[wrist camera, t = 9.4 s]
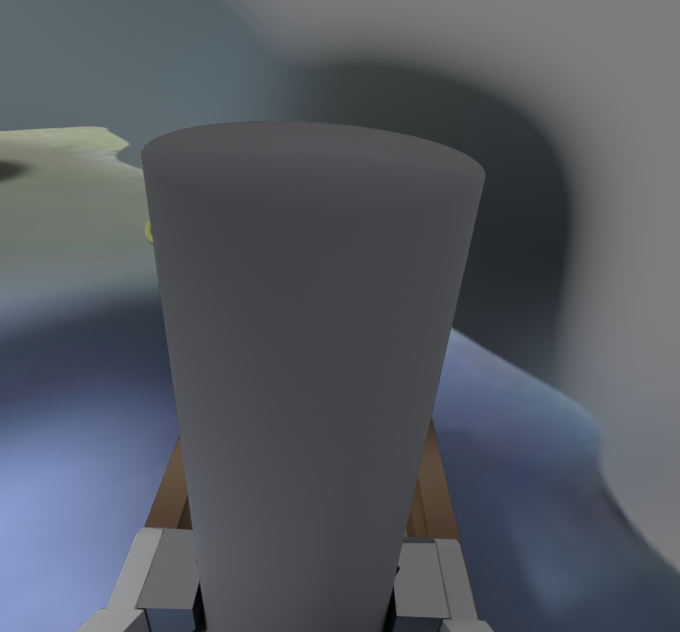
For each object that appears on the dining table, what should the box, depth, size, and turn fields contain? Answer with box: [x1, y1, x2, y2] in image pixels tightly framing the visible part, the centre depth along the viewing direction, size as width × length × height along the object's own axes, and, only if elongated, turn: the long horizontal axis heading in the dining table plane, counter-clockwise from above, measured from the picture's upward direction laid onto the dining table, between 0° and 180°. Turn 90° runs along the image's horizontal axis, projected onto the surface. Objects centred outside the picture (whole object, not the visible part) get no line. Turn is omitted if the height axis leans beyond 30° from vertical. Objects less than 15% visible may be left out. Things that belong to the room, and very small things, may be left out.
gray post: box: [141, 121, 485, 632], centre depth 10 cm, size 8×8×19 cm
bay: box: [145, 417, 479, 620], centre depth 20 cm, size 18×12×4 cm, turn 0°
